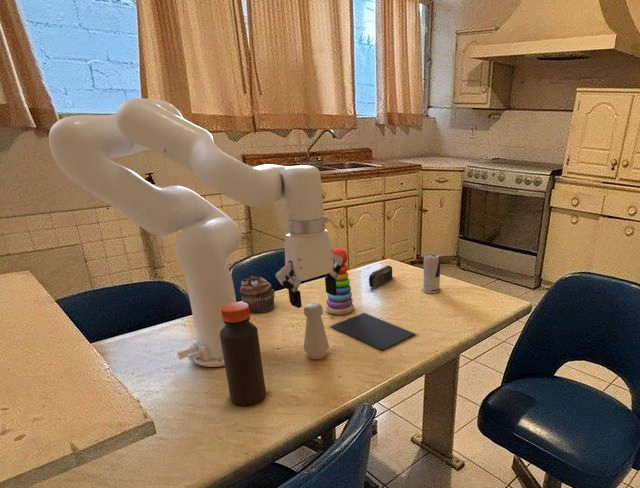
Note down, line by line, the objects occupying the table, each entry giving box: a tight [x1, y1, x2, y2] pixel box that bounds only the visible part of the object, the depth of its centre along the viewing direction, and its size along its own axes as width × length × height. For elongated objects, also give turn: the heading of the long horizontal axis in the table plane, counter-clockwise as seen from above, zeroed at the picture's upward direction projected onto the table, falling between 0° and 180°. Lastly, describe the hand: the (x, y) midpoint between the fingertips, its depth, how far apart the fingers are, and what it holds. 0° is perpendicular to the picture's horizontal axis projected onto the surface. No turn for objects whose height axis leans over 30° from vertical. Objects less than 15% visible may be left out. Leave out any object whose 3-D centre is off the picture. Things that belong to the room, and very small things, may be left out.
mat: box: [330, 312, 416, 352], centre depth 121 cm, size 12×20×1 cm, turn 49°
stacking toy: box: [325, 247, 355, 316], centre depth 130 cm, size 8×8×19 cm
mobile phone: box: [368, 265, 393, 291], centre depth 155 cm, size 5×3×15 cm
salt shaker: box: [303, 302, 330, 360], centre depth 106 cm, size 6×6×13 cm
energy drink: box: [422, 253, 441, 294], centre depth 148 cm, size 5×5×12 cm
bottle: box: [220, 301, 267, 407], centre depth 89 cm, size 7×7×20 cm
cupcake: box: [239, 274, 276, 314], centre depth 133 cm, size 10×10×10 cm
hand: (314, 300), depth 104 cm, fingers open, 9 cm apart
